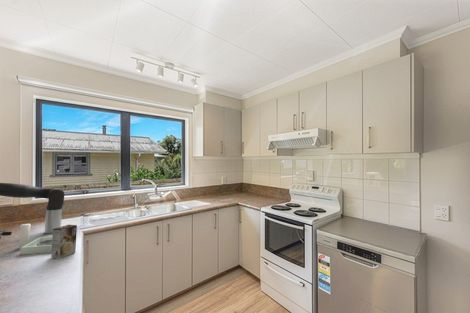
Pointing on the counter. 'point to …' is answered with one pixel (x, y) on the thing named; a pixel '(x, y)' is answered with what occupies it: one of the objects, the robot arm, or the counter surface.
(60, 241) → the coffee box
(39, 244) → the sage box
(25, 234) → the white cylinder
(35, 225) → the counter surface
